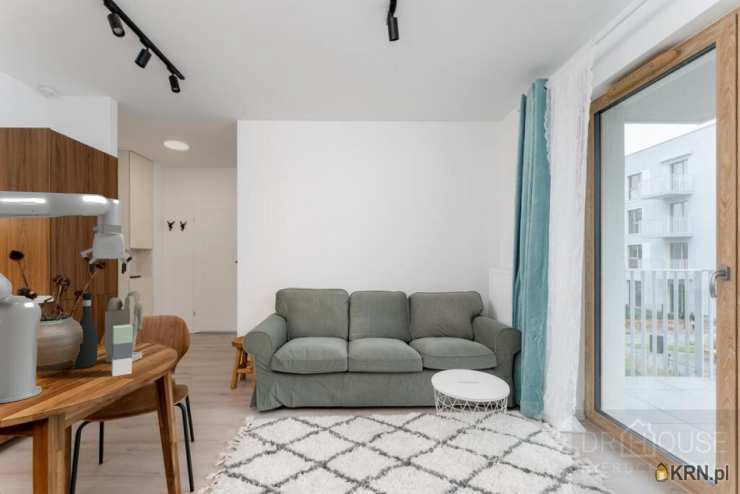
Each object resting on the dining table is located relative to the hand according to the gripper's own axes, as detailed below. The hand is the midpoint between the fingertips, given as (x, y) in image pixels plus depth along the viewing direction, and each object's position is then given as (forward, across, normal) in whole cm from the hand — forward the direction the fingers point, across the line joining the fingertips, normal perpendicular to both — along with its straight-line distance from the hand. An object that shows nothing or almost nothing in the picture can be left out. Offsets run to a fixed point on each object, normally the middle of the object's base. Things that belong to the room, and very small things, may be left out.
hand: (108, 273), depth 143 cm
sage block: (+26, +5, -4) cm, 27 cm away
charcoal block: (+32, +5, -4) cm, 33 cm away
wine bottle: (+38, -6, +14) cm, 41 cm away
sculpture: (+38, +8, +15) cm, 42 cm away
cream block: (+38, +5, -4) cm, 39 cm away
